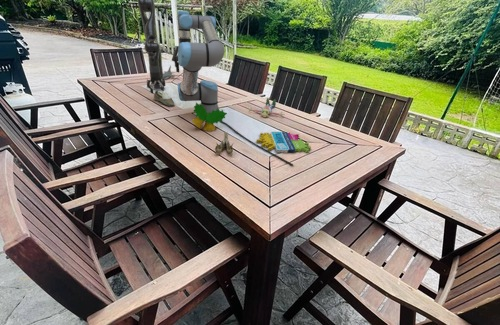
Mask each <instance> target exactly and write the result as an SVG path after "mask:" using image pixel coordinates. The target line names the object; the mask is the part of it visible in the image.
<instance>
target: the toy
mask: <svg viewBox="0 0 500 325" xmlns="http://www.w3.org/2000/svg"><path fill="white" fill-rule="evenodd" d="M276 105H277V100H276V98H274V99H273V101H272V103H270V99H269V97H267V98H266V101H265V106H263V108H262V109H253V108H252V107H250V108H247V110H248V112H255V113H256V112H257V113H260V114H259V116H261V117H263V118H269V116H270V115H269V114H271V115H274V116H275V115H277V116H278V115H279V116H280V117H284V116H285V113H284V112H283V111H281V112H276V111H272V110H273V109H272V108H275V107H276Z"/></svg>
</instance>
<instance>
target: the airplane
mask: <svg viewBox="0 0 500 325" xmlns="http://www.w3.org/2000/svg"><path fill="white" fill-rule="evenodd" d="M171 68H172V65H169V67H168V69H167V71H165V70H163V78H164V79H165V80H168V79H169V78H171V79H173V78H175V77H176V76H179V77H180V76H181V74H176V72H173V71H172V70H171Z"/></svg>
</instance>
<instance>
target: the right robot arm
mask: <svg viewBox="0 0 500 325" xmlns="http://www.w3.org/2000/svg"><path fill="white" fill-rule="evenodd" d="M176 15H177V16H176V18H177V30H178V45H175V46H174V51H173V55H172V58H171V61H172V62H174V67H175V71H176V72H175V73H180V67H181V68H183V69H182V80H181V81H180V82H178V83H177V93H178V98H179V101H181V102H197V101H198V102H199V101H200V104H201V106H204V109H206V112H208V113H211V112H212V110H214V111H216V110H217V109H219V111H221V110H220V108H219V102H218V99H219V98H218V97H219V88H218V84H217V83H216V82H215V81H213V80H207V79H206V80H205V79H202V80H200V81H199V82H198V78H199V77H198V76H199V72H200V71H201V70H202V69H203V68H205V67H206V68H211V67H215V66H216V65H219V63H220V62H221V61H222V60H223V58H224V55H225V46H224V44H223V42H222V41H221V40H220V38H219V36H218V33H217V31H216V27H217V22H216V20H217V19H216V17H215V16H213V15H212V16H211V15H199V14H198V15H197V14H190V11H188V10H177V14H176ZM191 29H192V30H201V31H202V35H203V37H204V40H205V42H192V39H191ZM208 113H207V115H208ZM219 122H220V123H222V124H224V125H226V126H227V127H228V128H230V129H231V130H232V131H233V132H235V133H236V134H237V135H239V136H240V137H241V138H243V139H245V140H246V141H248V142H249V143H250V144H252V145H255V146H256V147H258V148H260V149H261V150H263V151H265V152H266V153H268V154H271V155H272V156H274V157H275V158H278V159H279V160H281V161H283V162H285V163H286V164H288V165H291V166H294V164H293V163H291V162H289V161H288V160H286V159H284V158H283V157H280V156H279V155H276V154H275V153H273V152H271V151H268V149H267V148H265V147H262V146H260V145H258V143H257V144H256V143H255V142H254V141H251V140H250V139H248V138H247V137H246V136H244V135H242V134H241V133H240V132H239V131H237V130H235V129H234V128H233V127H232V126H230V125H229V124H228V123H227V122H225V121H222V122H221V121H219Z"/></svg>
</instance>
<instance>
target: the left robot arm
mask: <svg viewBox="0 0 500 325" xmlns="http://www.w3.org/2000/svg"><path fill="white" fill-rule="evenodd" d="M137 5H138V10H139V14H140V17H141V22H142V29H143V35H144V39H145V42H144V51H145V52H146V53H147V58H148V67H149V68H148V69H149V70H148V71H149V77H150V79H146V88H147V89H149V92H150V93H151V94H154V91H161V90H162V91H163V92H164V90H165V87H166V86H167V85H166V79H164V78H163V74H164V70H163V59H162V58H163V56H162V51H161V46H160V44H159V43H158V42H156V40H157V37H158V35H157V29H156V7H155V1H154V0H137ZM146 13H150V14H149V17H148V16H147V14H146Z"/></svg>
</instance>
